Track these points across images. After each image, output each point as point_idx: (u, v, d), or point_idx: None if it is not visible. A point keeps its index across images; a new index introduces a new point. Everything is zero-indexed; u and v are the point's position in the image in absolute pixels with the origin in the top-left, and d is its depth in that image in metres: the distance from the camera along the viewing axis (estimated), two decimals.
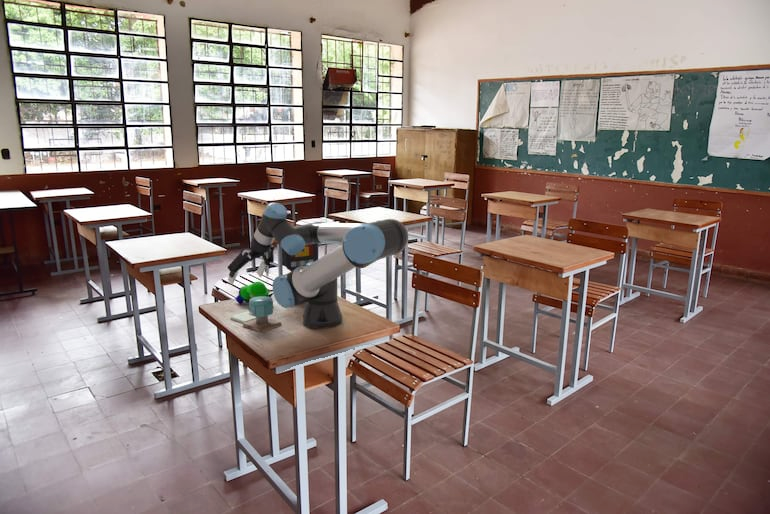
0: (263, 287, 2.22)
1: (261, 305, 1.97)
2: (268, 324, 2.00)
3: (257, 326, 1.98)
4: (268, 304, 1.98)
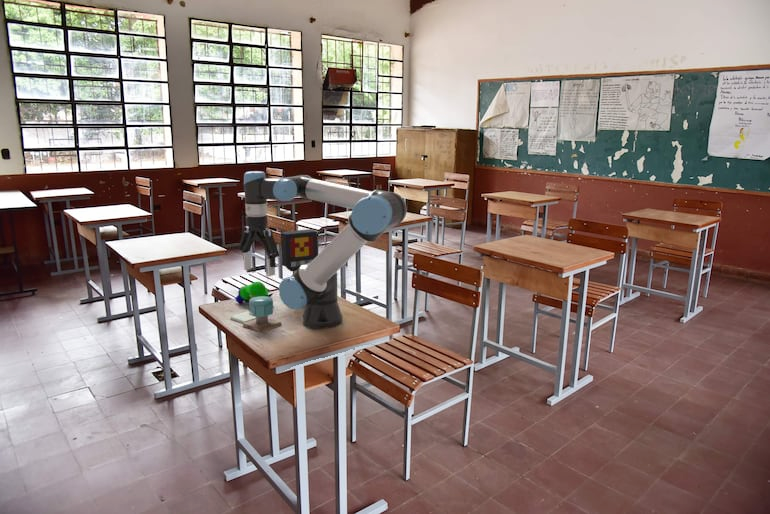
0: (262, 287, 2.22)
1: (261, 305, 1.97)
2: (268, 324, 2.00)
3: (257, 326, 1.98)
4: (268, 304, 1.98)
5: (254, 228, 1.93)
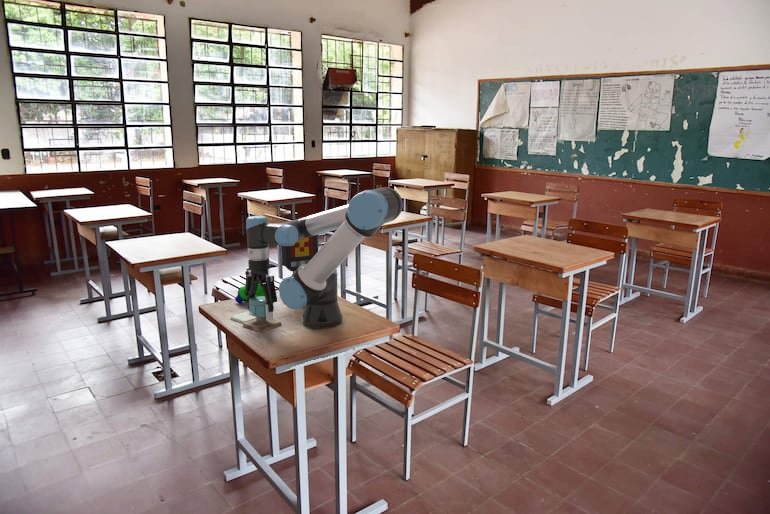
0: (261, 287, 2.21)
1: (261, 305, 1.97)
2: (268, 324, 2.00)
3: (257, 326, 1.98)
4: None
5: (256, 271, 1.97)
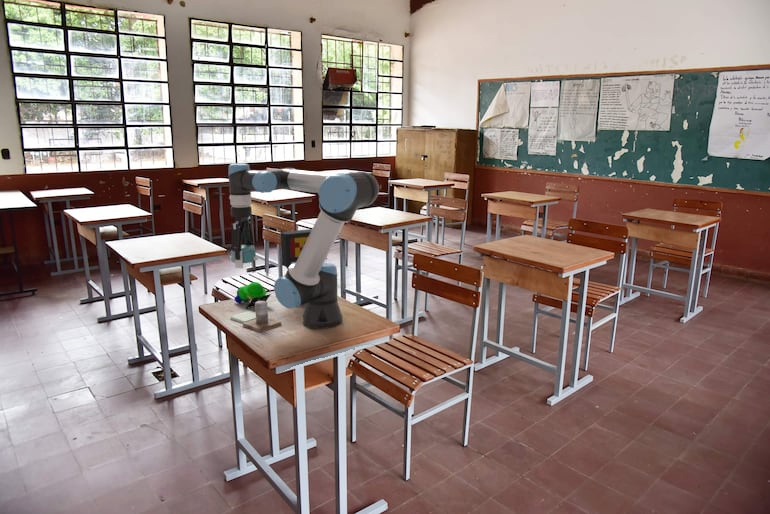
0: (260, 288, 2.21)
1: (233, 251, 2.01)
2: (268, 324, 2.00)
3: (257, 326, 1.98)
4: None
5: None
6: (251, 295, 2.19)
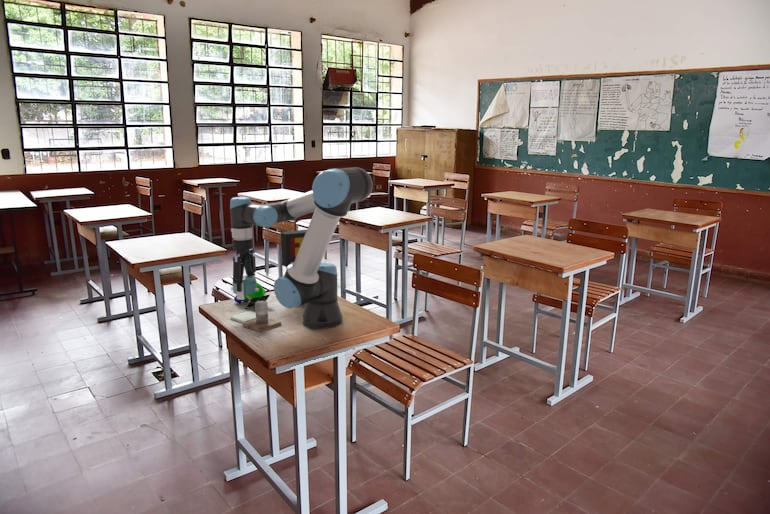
0: (259, 288, 2.20)
1: None
2: (268, 324, 2.00)
3: (257, 326, 1.98)
4: None
5: None
6: (250, 295, 2.19)
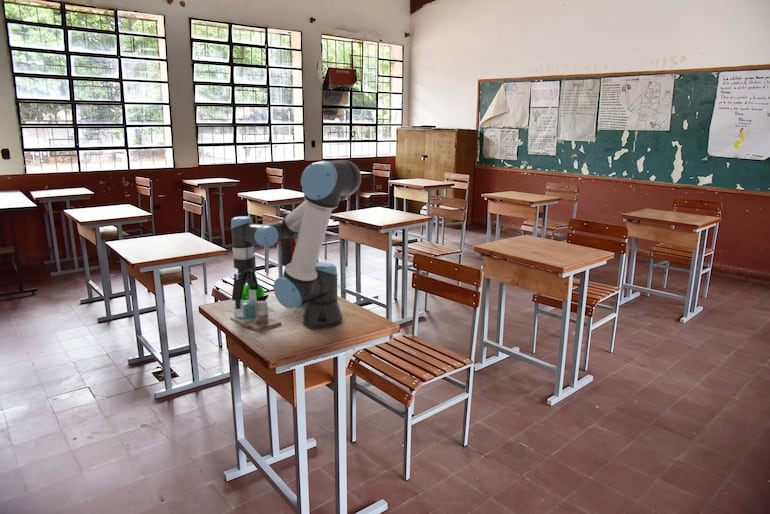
0: (258, 288, 2.20)
1: None
2: (268, 324, 2.00)
3: (257, 326, 1.98)
4: None
5: None
6: None
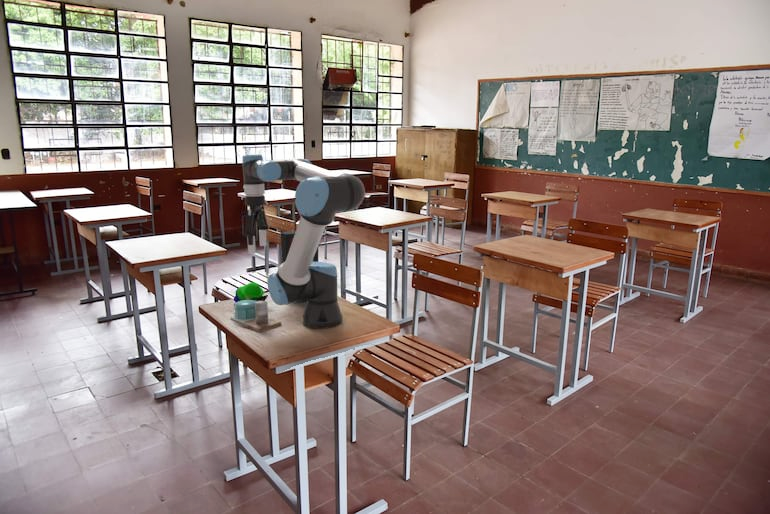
0: (257, 288, 2.20)
1: (236, 307, 2.06)
2: (268, 324, 2.00)
3: (257, 326, 1.98)
4: (242, 309, 2.05)
5: None
6: (248, 295, 2.18)
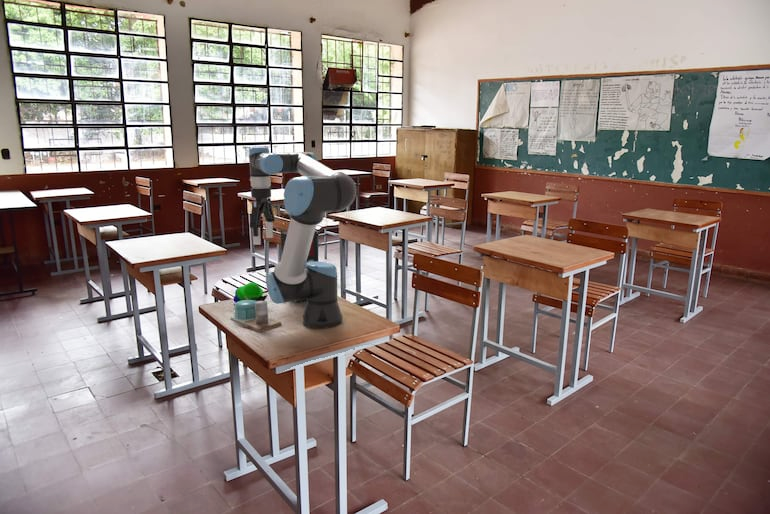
0: (256, 288, 2.20)
1: (236, 307, 2.06)
2: (268, 324, 2.00)
3: (257, 326, 1.98)
4: (242, 309, 2.05)
5: None
6: (247, 295, 2.18)
